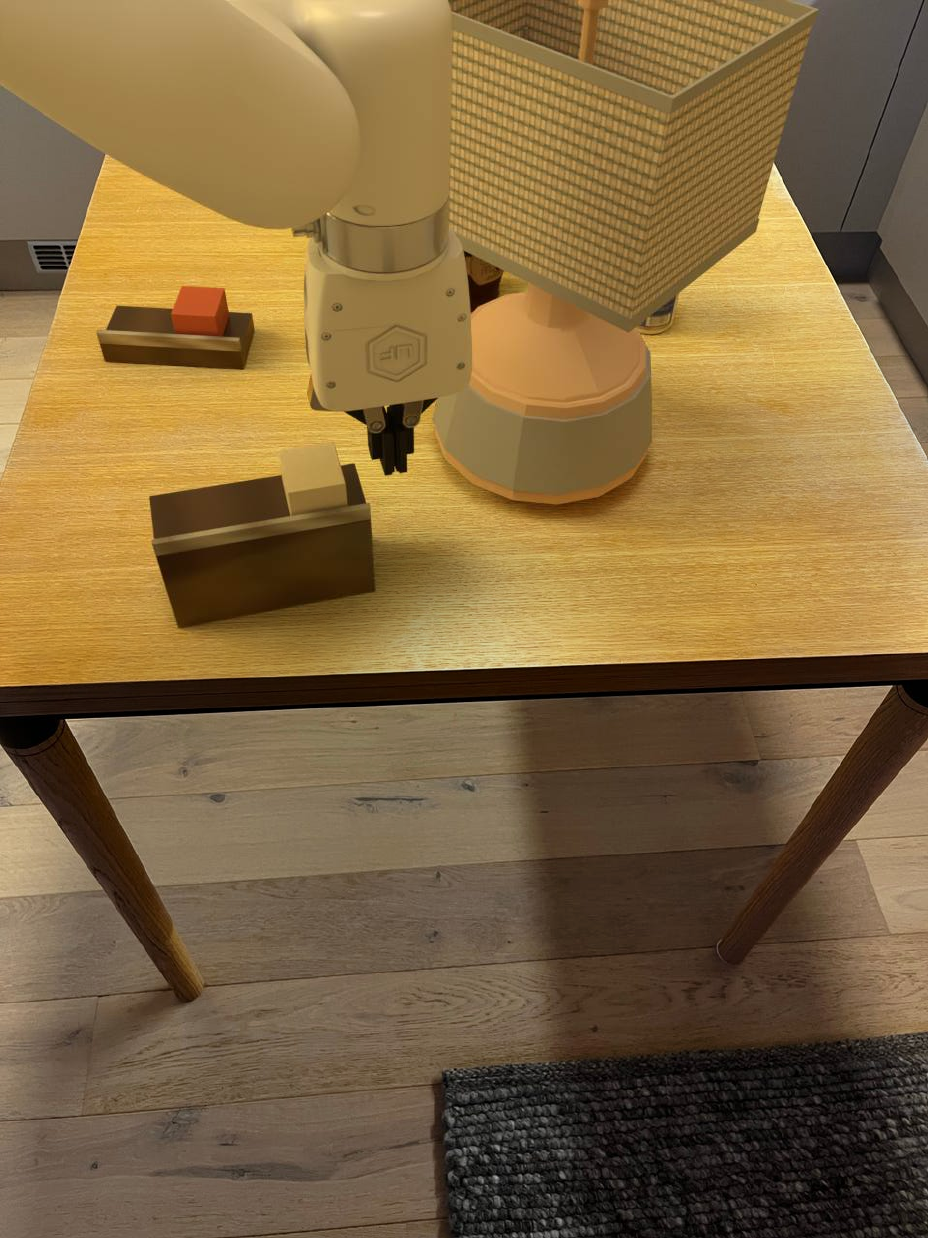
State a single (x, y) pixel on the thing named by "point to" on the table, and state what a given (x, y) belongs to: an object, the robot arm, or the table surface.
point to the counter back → (173, 340)
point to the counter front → (258, 549)
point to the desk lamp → (598, 211)
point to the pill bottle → (659, 318)
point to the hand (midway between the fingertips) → (391, 460)
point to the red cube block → (200, 311)
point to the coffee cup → (481, 281)
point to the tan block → (312, 478)
